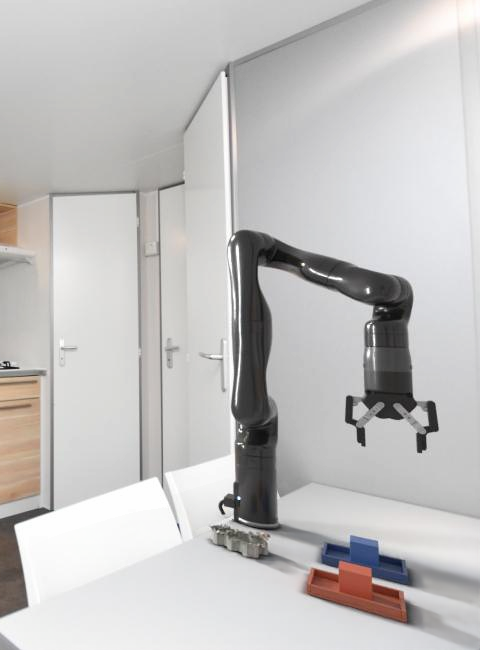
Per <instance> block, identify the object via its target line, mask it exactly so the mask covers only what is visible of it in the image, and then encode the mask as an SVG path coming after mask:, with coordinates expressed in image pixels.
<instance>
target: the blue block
mask: <svg viewBox="0 0 480 650" xmlns="http://www.w3.org/2000/svg"><path fill="white" fill-rule="evenodd" d="M349 547H350V561H354V562H358V563H362V564H366V565H370V566H374V567H378V568H379V554H380V547H379V541H378V540H377V539H376V540H375V539H371V538H367V537H361V536H357V535H352V534H351V535H349Z"/></svg>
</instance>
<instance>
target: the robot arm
mask: <svg viewBox="0 0 480 650" xmlns="http://www.w3.org/2000/svg"><path fill="white" fill-rule="evenodd" d="M226 258H227V266H228V272H229V273H228V274H229V281H230V300H231V301H230V302H231V343H232V344H231V347H232V348H231V349H232V351H231V352H232V362H233V364H232V365H233V380H232V391H231V399H230V411H231V415H232V416H233V418H234V420H235V421H236V422H237V433H236V436H235V437H236V438H235V439H234V481H233V484H232V493H227V494H226V495H224V496H223V499H221V500H220V501H219V502H218V510H219V512H220V514H221V515H222V516H225V515H226V512H225V510H224V507H225V508H230V509H233V522H238V523H240V524H242V525H245V526H249V527H252V528H256V529H264V530H273V529H278V528H279V527H280V526H279V509H278V508H279V507H278V505H279V504H278V503H279V502H278V463H277V460H278V459H277V448H278V444H279V411H278V405H277V403H276V400H275V399H274V398H273V397H272V396H271V395H270V394H269V393H268V384H267V383H268V382H267V370H268V365H269V361H270V356H271V352H272V347H273V338H274V337H273V336H274V331H273V329H274V328H273V315H272V314H273V313H272V311H271V308H270V305H269V303H268V300H267V298H266V297H265V295H264V293H263V290H262V287H261V284H260V279H259V267H261V268H269V269H274V270H279V271H283V272H286V273H289V274H292V275H294V276H296V277H297V278H299V279H301V280H303V281H305V282H307V283H310V284H311V285H313V286H317V287H319V288H322V289H326V290H329V291H331V292H335V293H339V294H340V295H343V296H345V297H346V298H348V299H351V300H353V301H356V302H358V303H361V304H363V305H366V306H370V307H372V313H371V319H369V320H367V321H366V322H365V323H364V325H363V347H364V348H363V356H362V368H363V387H364V388H363V389H364V394H363V396H355V395H351V394H348V395H346V396H345V409H344V410H345V412H344V422H345V424H348V425H351V426H354V427H355V429H356V430H355V431H356V442H357V444H360V445H361V447H363V448H366V447H367V445H366V440H367V439H366V427H365V426H366V425H367V424H368V423H369V422H370V421H371V420H372V419H373V418H374V417H376V418H377V419H380V420H388V419H390V420H394V421H402V420H406V422H407V423H409V425H410V426H412V428H414V430H415V431H416V432H415V442H416V443H415V444H416V446H415V447H416V453H417V454H423V451H424V452H426V451H427V449H428V445H427V443H428V442H427V435H428V434H431V433H438V432H439V430H440V427H439V419H438V412H437V405H436V402H435V401H433V400H432V399H429V400H416V399H415V397H414V385H413V363H412V361H413V360H412V356H411V351H410V336H409V334H410V333H409V322H410V319H411V316H412V311H413V307H414V298H415V296H414V290H413V289H414V288H413V287H412V286H413V285H412V284H411V283H410V281H409V280H407V278H405V277H403V276H400V275H397V274H389V273H384V272H379V271H376V270H372V269H368V268H364V267H360V266H358V265H357V264H355V263H352V262H349V261H345V260H342V259H340V258H335V257H332V256H328V255H324V254H320V253H317V252H313V251H309V250H308V251H307V250H304V249H300V248H297V247H296V246H292V245H291V244H288V243H286V242H284V241H282V240H280V239H278V238H276V237H274V236H272V235H270V234H268V233H266V232H261V231H258V230H257V231H256V230H252V229H240V230H239V229H238V230H237V231H236V232H234V233H233V234H232V235H231V236H230V238H229V239H228V243H227V246H226ZM359 403H362V404H363V405H364V406H365V407H366V408H367V409H368V410H367V411H366V412H365V413H364V414H363V415H362V416H361V417H360V418H359V419H356V418H354V407H357V406H358V405H359ZM417 407H420V409H421V410H422V411H423V412H425V413H426V414H427V415H426V416H427V422H428V425H422V424H421V423H419V421H418V420H417V419H416V418H415V417H414V416H413V415H412V414H411V413H412V412H413V411H414V410H416V408H417Z"/></svg>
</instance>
